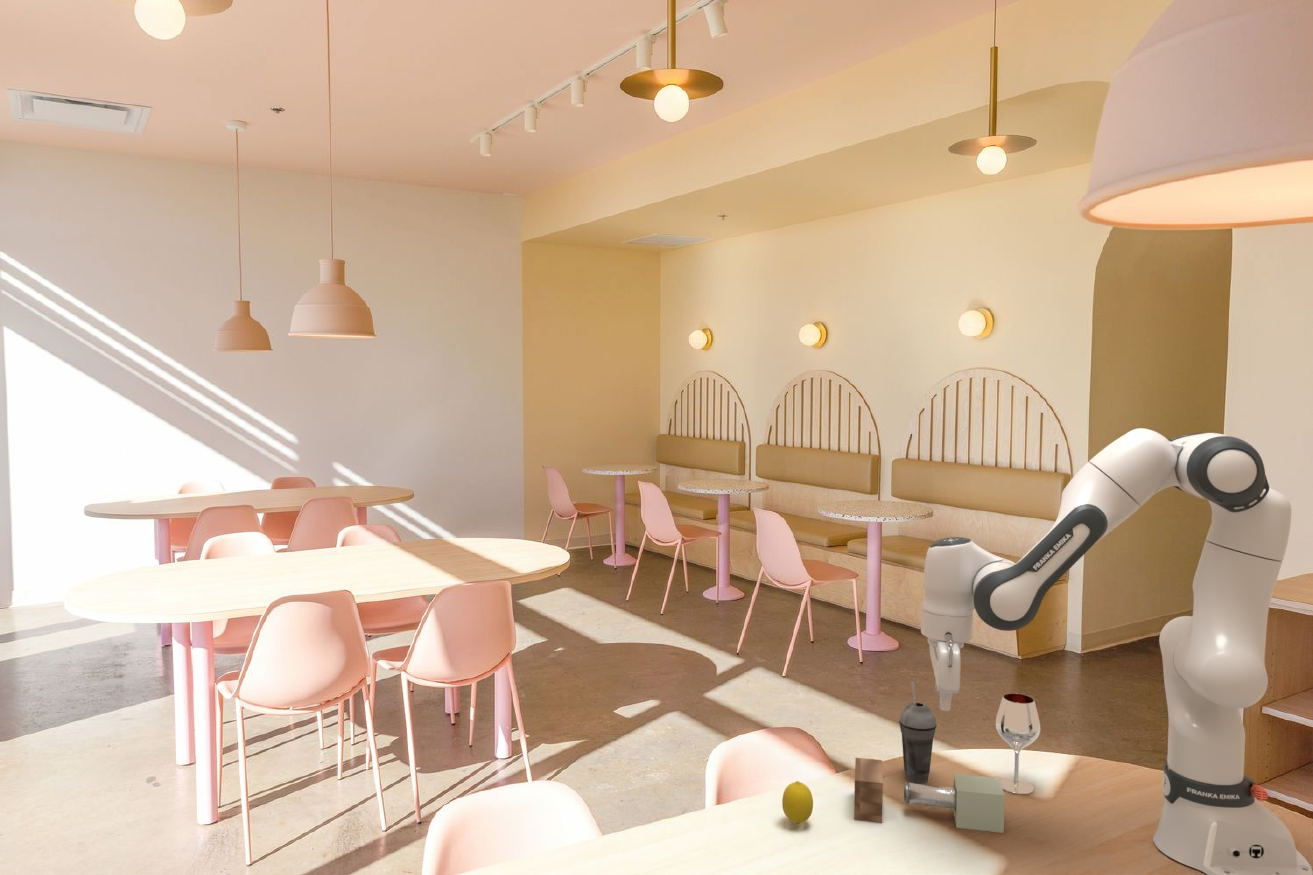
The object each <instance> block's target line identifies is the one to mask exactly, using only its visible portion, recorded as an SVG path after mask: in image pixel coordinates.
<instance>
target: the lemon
mask: <svg viewBox="0 0 1313 875" xmlns="http://www.w3.org/2000/svg"><path fill="white" fill-rule="evenodd" d="M782 794H783V795H782V799H781V800H782V802H781V803H782V804H781V805H782V806H781V807H782V810H783V813H784V815H785V817H786V818H787V819H788V820H789V821H791V822H793V823H795V825H800V824H802V823H804V822H806V821H807V820H809V818H810V817H811V816H812V814H813V808H814V801H813V800H814V799H813V795H812V792H811V790H810V787H808V786H807V785H806V784H805V783H803V782H800V781H799V780H796V781H794V782H791V783H790V784H788V785H787V786H786V787H785V789H784V791H783V793H782Z"/></svg>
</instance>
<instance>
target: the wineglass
mask: <svg viewBox="0 0 1313 875" xmlns="http://www.w3.org/2000/svg"><path fill="white" fill-rule="evenodd" d="M1040 722H1041V721H1040V718H1039V713H1038V709H1037V706H1036V701H1035V699H1034V698H1033V697H1031V696H1030V695H1026V694H1023V693H1017V692H1011V693H1005V694H1003V696H1002V698H1001V701H1000V704H999V707H998V711H997V713H996V717H995V728H996V731H997V733H998V734H999V736H1000V737H1001V739H1003V741H1004V742H1006V743H1007V744H1008V745H1009V746H1010V747H1011V748H1012V750H1013V752H1014V769H1013V770H1014V772H1013V778H1003V779H1002V780H1001V779H1000V783H1001V786H1002V789H1003V791H1005V792H1007V793H1011V794H1013V795H1028V794H1029V795H1030V794H1032V793H1033V792H1034V790H1035V789H1034V786H1033V785H1032V784H1031V783H1030V782H1027V781H1026V780H1025V781H1024V780H1023V779H1019V778H1020V776H1019V770H1020V769H1019V768H1020V753H1021V751H1022V750H1023V749H1025V748H1026V747H1028V746H1030V745H1031V744H1032V743H1034V742H1035V741H1036V740H1037V739H1038V737H1039V736H1040V734H1041V723H1040Z"/></svg>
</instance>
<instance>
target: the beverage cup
mask: <svg viewBox="0 0 1313 875" xmlns="http://www.w3.org/2000/svg"><path fill="white" fill-rule="evenodd" d="M910 683H911V693H912V694H911V695H912V703H909V704H908V705H906V706H904V708H903V709H902V711H901V714H900V717H899V721H898V723H899V728H900V733H901V740H902V741H901V744H902V757H903V771H904V779H905V781H907V782H908V783H913V784H923V785H926V784H927V783H928V782H929V777H930V770H931V762H932V753H933V752H932V751H933V743H934V737H935V734H936V729H937V722H936V716H935V714H934V712H933V711H932V710H931V708H930V707H929V706H927V705H926V704H924V703H921V702H917V700H916V692H915V690H916V689H915V682H914V681H911V682H910Z"/></svg>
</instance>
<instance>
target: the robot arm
mask: <svg viewBox="0 0 1313 875" xmlns="http://www.w3.org/2000/svg"><path fill="white" fill-rule="evenodd" d="M1171 487H1174V488H1175V489H1177V490H1179V491H1182V492H1185V493H1187V494H1189V495H1191V496H1193V497H1195V498H1197V499H1202V500H1207V502H1208V503H1209V505H1210V509H1211V521H1210V522H1211V524H1210V526H1209V529H1208V532H1207V535H1206V538H1205V541H1204V544H1203V548H1202V550H1201V555H1200V557H1199V561H1198V563H1197V567H1196V570H1195V574H1194V576H1193V581H1192V592H1193V593H1192V594H1193V604H1192V606H1193V608H1192V615H1191V616H1190V615H1183V616H1177V617H1175V618H1172V619H1171V620H1169V621H1168V622H1167V623H1166V624H1165V625H1164V626H1163V627H1162V629H1161V630H1160V633H1159V640H1158V642H1159V647H1160V648H1159V649H1160V653H1161V657H1162V658H1161V659H1162V668H1163V670H1162V671H1163V680H1164V681H1163V683H1164V690H1165V698H1166V704H1167V705H1166V706H1167V715H1168V718H1167V719H1168V731H1167V736H1168V737H1167V757H1166V758H1167V759H1166V761H1165V762H1164V766H1163V774H1162V793H1163V797H1164V798H1163V805H1162V809H1161V814H1160V818H1159V822H1158V826H1157V828H1156V829H1155V833H1154V836H1153V839H1152V840H1153V843H1154V845H1155V847H1156V848H1157V849H1158V850H1160V852H1162V853H1163V854H1164V855H1166V856H1167V857H1169V859H1170V858H1171V859H1172V860H1175V861H1176V862H1179V863H1180V864H1183V865H1186V866H1187V867H1190V868H1193V869H1196V870H1198V871H1199V872H1200V871H1201V872H1203V873H1204V874H1206V875H1313V868H1312V866H1311V864H1310V863H1309V862H1308V860H1307V859H1306V858H1305V856H1304V855H1303V854H1302V853H1301V852H1299V851H1298V849H1296V843H1295V839H1294V837H1293V834H1292V833H1291V831H1290V829H1289V828H1288V826H1287V825H1286V824H1285V823H1284V822H1283V821H1282V820H1281V819H1280V817H1278V816H1277V815H1276V814H1275V813H1274V812H1272V811H1271V810H1270V809H1268V808H1267V807H1266V806H1265V805H1263V804H1262V803H1261V802H1266V801H1267V799H1268V797H1269V793H1268V791H1267V790H1266V789H1264V787H1262V786H1261V785H1259V784H1256V782H1255V781H1254V779H1252V778H1251V777H1249V776H1248V775H1246V774H1245V773H1244V772H1245V755H1246V754H1245V753H1246V751H1245V750H1246V748H1245V747H1246V731H1245V730H1246V729H1245V726H1244V724H1243V721H1242V717H1241V712H1240V709H1245V708H1249V707H1251V706H1253V705H1255V704H1256V703H1258V702H1260V700H1261V699H1262V698H1263V697H1264V696H1265V695H1266V694H1265V693H1266V691H1267V689H1268V685H1269V684H1268V683H1269V678H1268V672H1267V669H1266V665H1265V664H1266V661H1265V659H1266V658H1265V657H1266V644H1267V629H1268V628H1267V626H1268V618H1269V617H1268V616H1269V610H1270V606H1271V601H1272V597H1273V593H1274V591H1275V587H1276V583H1277V580H1278V577H1279V575H1280V572H1281V571H1280V570H1281V568H1282V565H1283V561H1284V559H1285V558H1284V557H1285V554H1286V550H1287V546H1288V542H1289V536H1290V530H1291V524H1292V506H1291V503H1290V501H1289V499H1288V498H1287V497H1286V496H1285V495H1284V494H1283V493H1281V492H1279V491H1278V490H1276V489H1274V488H1272V487H1270V485H1269V482H1268V478H1267V475H1266V470H1265V464H1264V462H1263V459H1262V457H1261V455H1260V453H1259V452H1258V451H1257V450H1256V448H1255V447H1254V446H1252V445H1251V444H1250V443H1248V442H1247V441H1245V440H1244V439H1241V438H1238V437H1235V436H1230V435H1227V434H1222V433H1218V432H1217V433H1216V432H1205V433H1201V432H1195V433H1189V434H1184V435H1180V436H1177V437H1173V438H1169V439H1168V438H1167V437H1165V436H1164V435H1162V434H1161V433H1159V432H1157V431H1155V430H1152V429H1148V428H1141V427H1140V428H1134V429H1132V430H1130V431H1128V432H1126V433H1125V434H1123V435H1122V436H1120V437H1118V438H1117V439H1115V440H1114V441H1112V442H1111V443H1110V444H1107V445H1106V446H1105V447H1104V448H1102V449H1101V450H1100V451H1099V452H1098V453H1096V454H1095V455H1094V456H1093V457H1092V458H1091V459H1089V461H1087V462H1086V463H1085V464H1084V465H1083V466H1082V467H1081V468H1080V469H1079V470H1078V471H1077V472H1076V473H1075V474H1074V476H1073V477H1072V478H1071V479H1070V481H1068V483H1067V485H1066V486H1065V487H1064V489H1063V490H1062V492H1061V496H1060V498H1061V499H1060V504H1059V506H1060V507H1059V511H1058V515H1057V517H1056V520H1055V522H1054V523H1053V524H1052V527H1051V528H1050V529H1049V531H1047V533H1046V534H1045V535H1044V536H1042V538H1041V539H1040V540H1039V541H1038V542H1037V543H1036V544H1034V545H1033V546H1032V547H1031V548H1030V549H1029V550H1028V551H1027V553H1026V554H1024V555H1023V556H1022V558H1020V559H1019V560H1018V561H1017V562H1016V563H1015V562H1014V561H1013V560H1010V559H1007V558H1004V557H1001V556H998V555H995V554H993V553H992V552H989V551H988V550H986V549H984V548H982V547H980V546H979V545H977V544H976V543H975V542H974V541H973V540H972V539H970V538H967V537H960V536H954V537H945V538H941V539H938V540H935V541H934V542H932V543H931V545H930V546H929V547H928V549H927V552H926V555H925V560H924V561H925V562H924V568H923V570H924V571H923V582H922V583H923V584H922V586H923V589H924V599H923V602H922V607H921V620H920V622H921V623H920V624H921V625H920V634H921V635H923V636H924V637H926V638H927V644H928V647H929V657H930V660H931V665H932V669H933V674H934V678H935V690H936V692H937V693H939V710H940V711H943V712H950V711H951V707H952V699H953V696H954V694H959V691H960V688H961V686H960V685H961V667H962V666H961V649H962V648H964V646H965V642H968V641H971V639H972V637H973V622H974V621H973V620H974V617H973V616H974V610H975V612H976V614H977V616H978V617H979V618H980V619H981V621H983V622H984V623H985V624H986V625H987V626H989V627H991V628H993V629H996V630H998V631H1005V632H1008V631H1009V632H1012V631H1017V630H1020V629H1022V628H1024V627H1026V626H1028V625H1029V624H1030V623H1031V622H1032V621H1033V620H1034V618H1035V617H1036V615H1037V613H1038V612H1039V609H1040V606H1041V605H1042V601H1043V600H1044V597H1045V596H1046V594H1047V593H1048V591H1049V590H1050V589H1051V588H1052V587H1053V586H1054V585H1055V584H1056V583H1057V582H1058V581H1059V580H1060V579H1061V578H1062V577H1063V576H1064V575H1065V574H1066V573H1067V572H1068V571H1069V570H1070V569H1071V568H1072V567H1073V566H1074V565H1075V564H1076V563H1077V562H1078V561H1079V560H1080V559H1081V558H1082V557H1083V556H1084V555H1086V553H1087V552H1088V551H1089V550H1090V549H1091V548H1092V547H1093V546H1095V545H1096V544H1097V543H1098V542H1099V541H1101V540H1102V539H1103V538H1105V537H1106V536H1107V535H1108V534H1109V533H1110V532H1112V531H1113V530H1115V529H1116V528H1117V527H1119V526H1120V525H1121V524H1122V523H1123V522H1125V521H1126V520H1127V519H1128V518H1130V517H1131V516H1132V515H1133V514H1135V513H1136V512H1137V511H1138V510H1139V509H1140V508H1141V507H1143V505H1145V504H1146V503H1147V502H1148V501H1149V500H1150V499H1151V498H1152V497H1153V496H1155V495H1156V494H1157V493H1159V492H1161V491H1163V490H1165V489H1167V488H1171Z"/></svg>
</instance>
